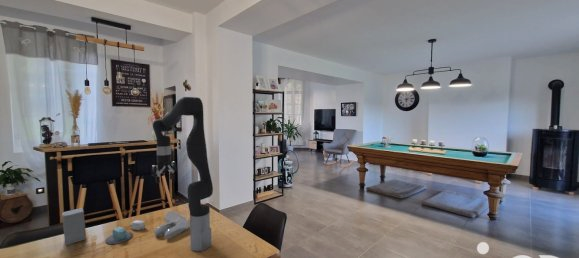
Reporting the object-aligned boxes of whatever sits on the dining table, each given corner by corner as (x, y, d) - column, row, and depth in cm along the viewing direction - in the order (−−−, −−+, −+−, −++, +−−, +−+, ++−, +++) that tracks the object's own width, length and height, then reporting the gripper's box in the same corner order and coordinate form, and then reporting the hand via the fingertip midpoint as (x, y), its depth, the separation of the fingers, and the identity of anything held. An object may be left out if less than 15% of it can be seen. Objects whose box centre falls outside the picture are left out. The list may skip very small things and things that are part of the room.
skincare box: (85, 235, 131) (83, 206, 129) (86, 240, 125) (84, 210, 124) (63, 241, 125) (62, 211, 124) (64, 246, 120) (62, 215, 118)
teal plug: (127, 238, 127) (127, 230, 126) (120, 241, 123) (120, 233, 123) (118, 233, 132) (117, 225, 131) (110, 236, 129) (110, 228, 128)
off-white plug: (146, 227, 140) (146, 221, 139) (142, 230, 136) (141, 223, 136) (133, 226, 141) (133, 219, 141) (129, 229, 138) (128, 222, 138)
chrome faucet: (175, 208, 150) (192, 218, 137) (176, 219, 150) (193, 229, 138) (144, 220, 136) (160, 231, 124) (146, 232, 137) (161, 244, 124)
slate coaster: (137, 236, 130) (137, 235, 130) (112, 246, 120) (112, 245, 119) (125, 230, 136) (125, 229, 136) (100, 240, 126) (100, 239, 126)
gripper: (156, 156, 132) (157, 185, 133) (179, 152, 144) (179, 179, 145) (148, 154, 136) (149, 183, 137) (171, 151, 148) (172, 177, 149)
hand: (165, 181), depth 141 cm, fingers open, 8 cm apart
